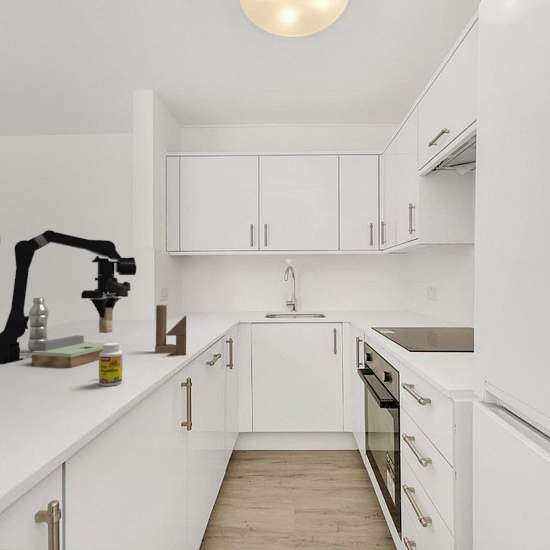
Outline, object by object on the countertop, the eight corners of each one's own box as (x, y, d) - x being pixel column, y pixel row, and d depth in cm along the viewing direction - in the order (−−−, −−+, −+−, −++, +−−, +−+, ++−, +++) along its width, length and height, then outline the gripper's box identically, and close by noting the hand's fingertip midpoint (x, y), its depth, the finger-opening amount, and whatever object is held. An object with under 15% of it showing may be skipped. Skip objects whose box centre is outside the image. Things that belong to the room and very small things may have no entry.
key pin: (99, 332, 141) (99, 308, 141) (104, 331, 144) (105, 307, 144) (106, 333, 140) (106, 308, 140) (112, 331, 143) (112, 307, 143)
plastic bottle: (43, 349, 149) (43, 297, 149) (51, 351, 145) (52, 298, 145) (24, 351, 144) (25, 298, 144) (32, 353, 140) (33, 298, 140)
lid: (32, 354, 116) (32, 343, 116) (80, 344, 135) (80, 334, 135) (71, 357, 113) (71, 345, 113) (115, 346, 132) (115, 336, 132)
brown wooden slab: (31, 368, 116) (31, 355, 116) (80, 356, 135) (80, 344, 135) (71, 371, 113) (71, 357, 113) (114, 358, 132) (115, 346, 132)
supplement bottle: (96, 387, 96) (97, 346, 96) (101, 381, 101) (101, 342, 101) (120, 386, 97) (120, 345, 97) (123, 380, 102) (124, 342, 103)
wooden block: (186, 355, 139) (186, 305, 139) (154, 356, 136) (155, 305, 136) (185, 353, 142) (186, 304, 143) (155, 354, 140) (155, 304, 140)
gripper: (108, 274, 131) (107, 320, 131) (140, 275, 149) (139, 315, 149) (80, 274, 134) (79, 319, 134) (115, 275, 152) (114, 315, 152)
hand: (105, 317), depth 142 cm, fingers closed on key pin, 3 cm apart
